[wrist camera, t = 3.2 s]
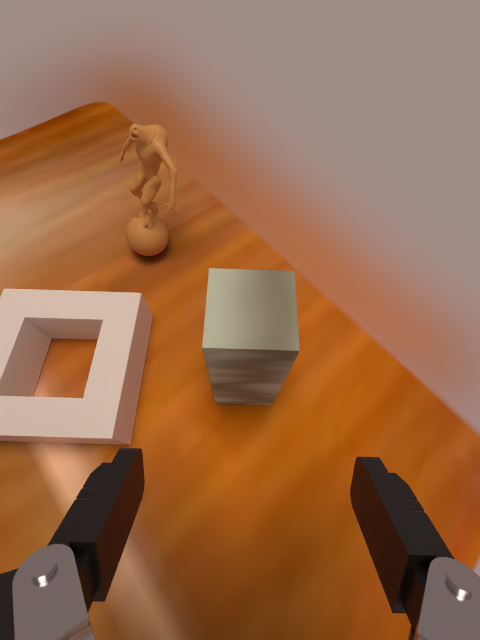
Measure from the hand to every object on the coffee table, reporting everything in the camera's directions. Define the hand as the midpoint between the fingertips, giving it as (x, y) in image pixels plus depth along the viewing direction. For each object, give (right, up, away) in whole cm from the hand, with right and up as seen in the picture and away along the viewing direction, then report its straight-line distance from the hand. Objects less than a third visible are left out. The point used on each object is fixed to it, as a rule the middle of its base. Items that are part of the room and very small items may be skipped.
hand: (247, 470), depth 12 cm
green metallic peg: (0, +1, +14) cm, 14 cm away
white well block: (-14, +1, +14) cm, 20 cm away
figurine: (-9, +13, +21) cm, 26 cm away
